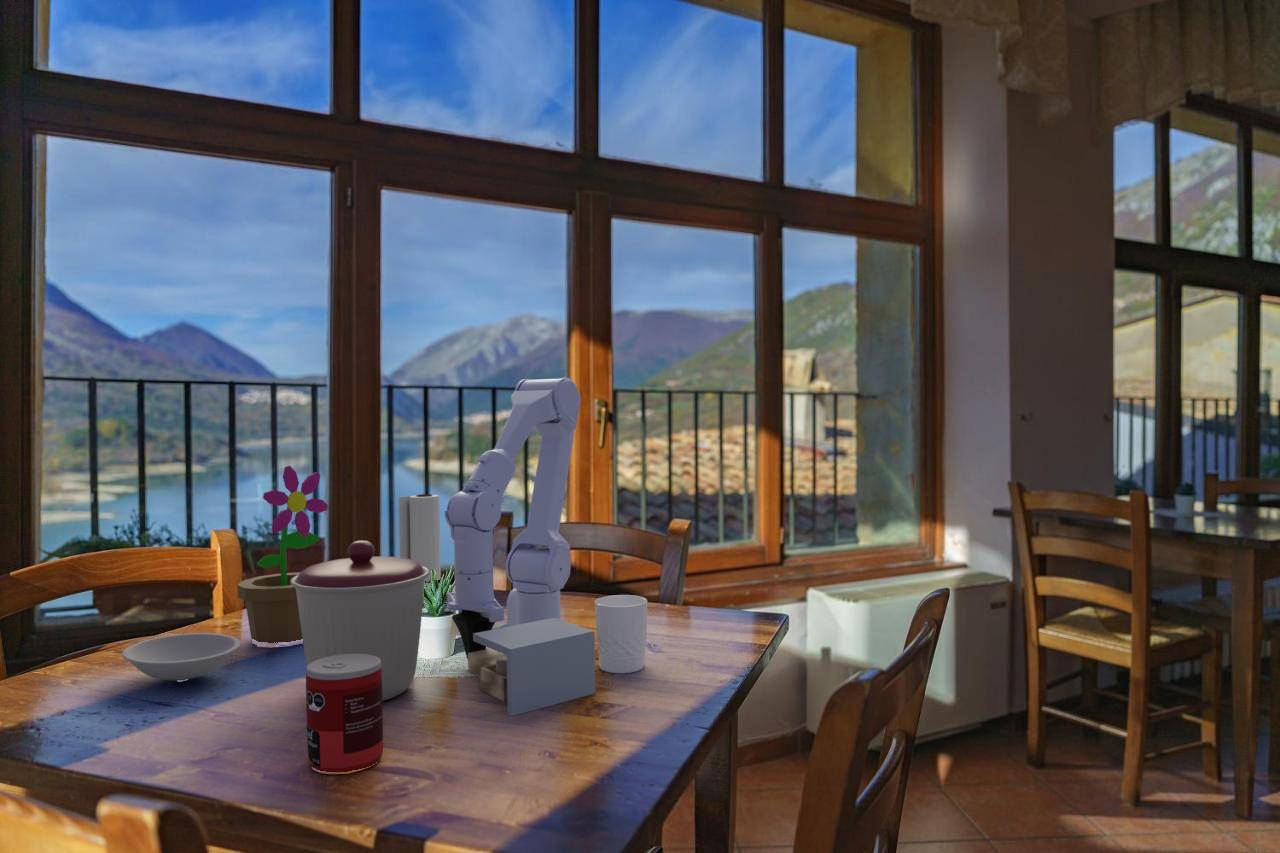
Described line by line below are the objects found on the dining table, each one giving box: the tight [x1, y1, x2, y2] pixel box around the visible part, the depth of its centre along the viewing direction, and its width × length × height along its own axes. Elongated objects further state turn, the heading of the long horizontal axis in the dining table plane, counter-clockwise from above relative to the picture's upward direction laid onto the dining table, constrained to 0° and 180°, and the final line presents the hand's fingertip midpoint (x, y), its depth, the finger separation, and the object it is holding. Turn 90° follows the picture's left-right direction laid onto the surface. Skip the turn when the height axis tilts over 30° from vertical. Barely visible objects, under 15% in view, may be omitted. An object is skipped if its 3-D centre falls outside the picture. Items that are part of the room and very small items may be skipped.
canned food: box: [305, 654, 384, 772], centre depth 93 cm, size 8×8×11 cm
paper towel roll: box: [398, 493, 442, 582], centre depth 175 cm, size 7×6×21 cm
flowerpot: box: [237, 465, 329, 643], centre depth 144 cm, size 14×14×30 cm
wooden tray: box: [467, 648, 508, 703], centre depth 121 cm, size 16×9×4 cm, turn 39°
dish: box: [121, 632, 241, 681], centre depth 122 cm, size 18×14×5 cm
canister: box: [290, 540, 430, 702], centre depth 116 cm, size 18×18×21 cm
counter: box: [473, 618, 596, 717], centre depth 114 cm, size 10×13×8 cm
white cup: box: [594, 594, 648, 674], centre depth 126 cm, size 8×8×10 cm
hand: (475, 660), depth 128 cm, fingers closed
